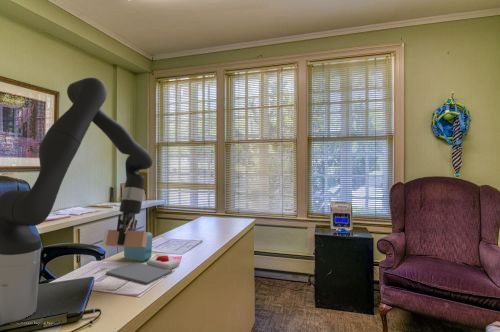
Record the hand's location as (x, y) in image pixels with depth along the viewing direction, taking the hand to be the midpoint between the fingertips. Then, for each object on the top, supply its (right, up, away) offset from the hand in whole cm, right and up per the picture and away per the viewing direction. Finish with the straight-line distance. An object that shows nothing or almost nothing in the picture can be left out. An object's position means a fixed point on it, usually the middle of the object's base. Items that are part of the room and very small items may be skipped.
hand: (123, 245), depth 102 cm
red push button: (+10, -14, +16) cm, 24 cm away
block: (+7, +2, +1) cm, 8 cm away
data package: (-4, -13, +23) cm, 27 cm away
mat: (+4, -13, +6) cm, 14 cm away
